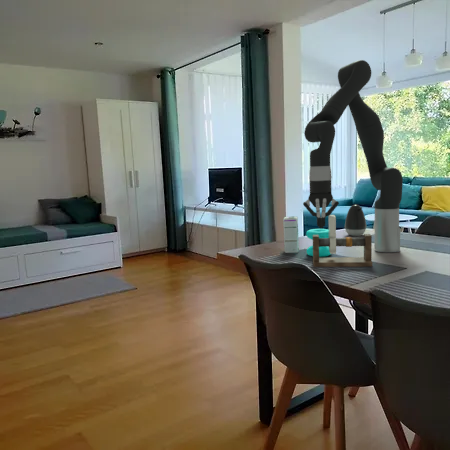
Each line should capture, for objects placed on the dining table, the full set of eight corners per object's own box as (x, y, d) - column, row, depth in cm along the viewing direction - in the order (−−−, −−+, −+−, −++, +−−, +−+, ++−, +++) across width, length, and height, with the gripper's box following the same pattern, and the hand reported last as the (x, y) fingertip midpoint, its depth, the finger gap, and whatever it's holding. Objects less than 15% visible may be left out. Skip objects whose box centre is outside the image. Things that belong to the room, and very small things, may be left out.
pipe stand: (368, 261, 158) (368, 232, 156) (372, 266, 150) (372, 236, 149) (312, 261, 161) (312, 233, 160) (313, 266, 153) (313, 237, 152)
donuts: (332, 228, 174) (331, 232, 165) (332, 252, 176) (331, 257, 166) (307, 228, 177) (305, 232, 168) (307, 252, 178) (305, 257, 169)
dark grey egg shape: (351, 237, 207) (351, 206, 205) (341, 234, 217) (340, 204, 215) (370, 235, 209) (370, 204, 207) (359, 232, 219) (359, 203, 217)
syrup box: (298, 252, 178) (297, 217, 176) (283, 252, 179) (283, 218, 177) (298, 250, 183) (298, 216, 181) (284, 250, 184) (284, 216, 182)
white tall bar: (334, 249, 159) (334, 214, 157) (336, 253, 152) (335, 217, 150) (328, 249, 159) (328, 214, 157) (330, 253, 152) (329, 217, 150)
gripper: (338, 178, 155) (339, 225, 158) (301, 179, 157) (302, 226, 160) (340, 178, 148) (341, 228, 150) (301, 180, 150) (302, 229, 152)
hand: (321, 227), depth 155 cm, fingers closed
